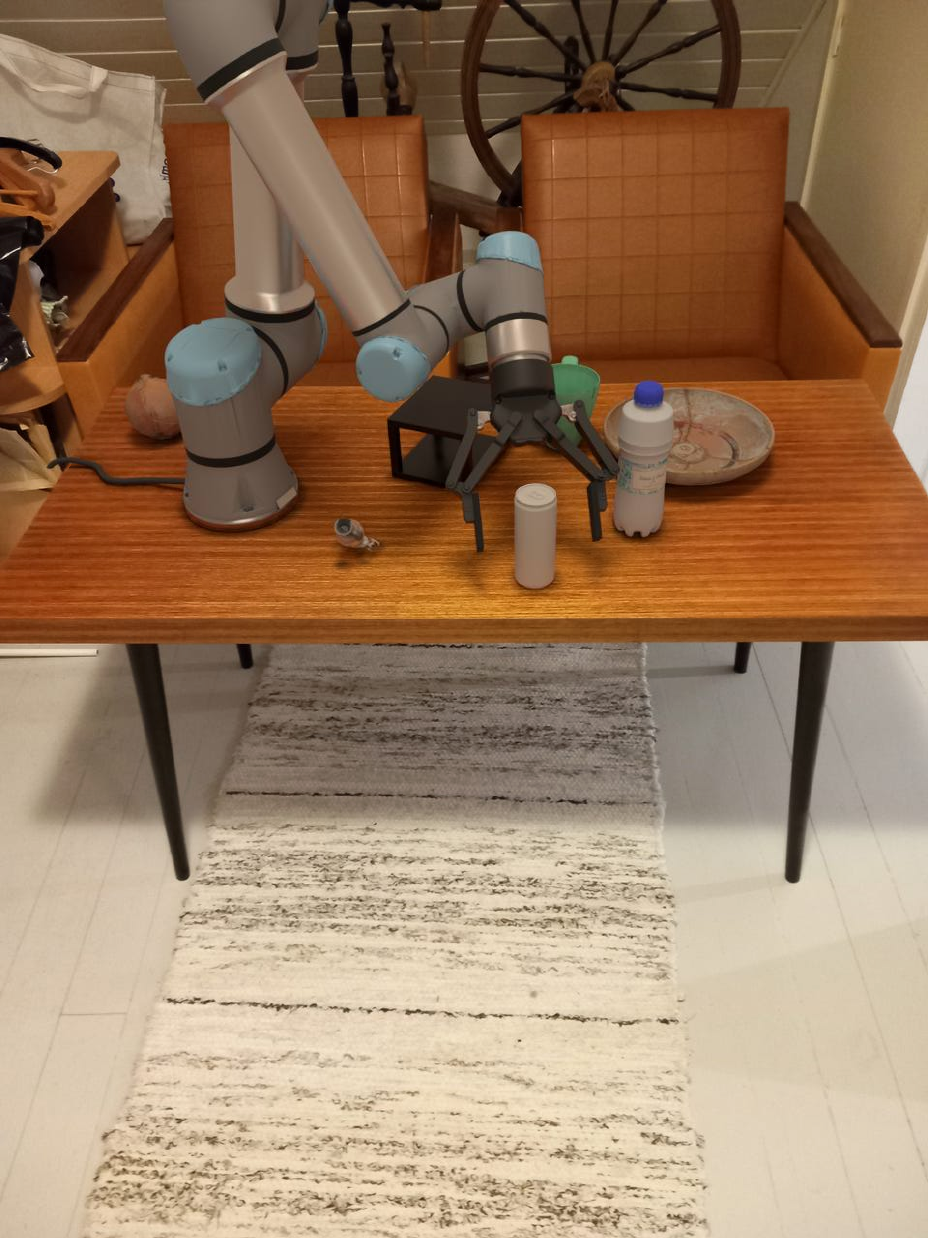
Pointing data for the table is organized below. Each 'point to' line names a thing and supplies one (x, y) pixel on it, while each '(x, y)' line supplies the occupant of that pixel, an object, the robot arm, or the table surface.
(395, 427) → the rack
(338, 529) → the seashell
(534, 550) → the beverage can
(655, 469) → the bottle
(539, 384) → the robot arm
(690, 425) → the ceramic bowl
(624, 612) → the table surface
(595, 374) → the mug
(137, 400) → the onion
